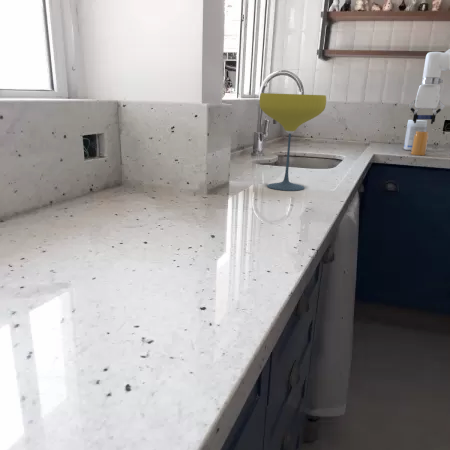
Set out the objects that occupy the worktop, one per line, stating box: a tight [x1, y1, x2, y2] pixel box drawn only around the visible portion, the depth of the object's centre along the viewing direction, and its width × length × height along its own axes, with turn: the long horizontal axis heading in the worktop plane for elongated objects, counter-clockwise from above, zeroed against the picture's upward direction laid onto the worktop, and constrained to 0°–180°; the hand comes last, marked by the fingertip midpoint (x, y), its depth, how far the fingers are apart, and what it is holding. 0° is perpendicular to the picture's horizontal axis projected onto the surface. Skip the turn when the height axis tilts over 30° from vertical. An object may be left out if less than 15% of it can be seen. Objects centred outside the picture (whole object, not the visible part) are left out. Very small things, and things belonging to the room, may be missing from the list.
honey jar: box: [410, 130, 430, 156], centre depth 232 cm, size 6×6×11 cm
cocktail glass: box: [258, 92, 327, 192], centre depth 136 cm, size 18×18×25 cm
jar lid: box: [417, 114, 433, 120], centre depth 227 cm, size 7×7×2 cm
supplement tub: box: [403, 119, 428, 151], centre depth 250 cm, size 10×10×15 cm
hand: (423, 123), depth 228 cm, fingers closed on jar lid, 6 cm apart
